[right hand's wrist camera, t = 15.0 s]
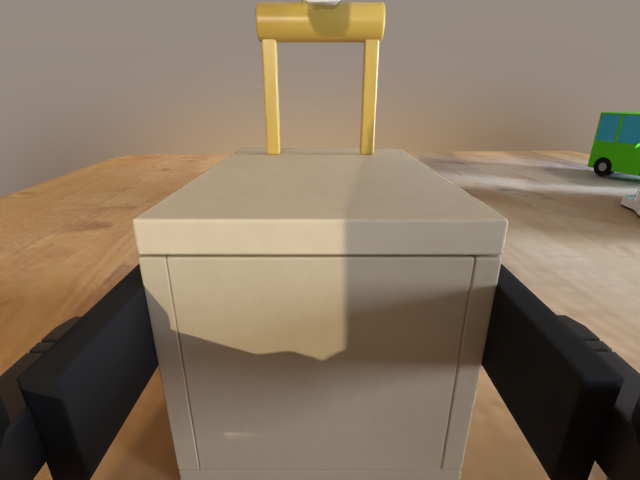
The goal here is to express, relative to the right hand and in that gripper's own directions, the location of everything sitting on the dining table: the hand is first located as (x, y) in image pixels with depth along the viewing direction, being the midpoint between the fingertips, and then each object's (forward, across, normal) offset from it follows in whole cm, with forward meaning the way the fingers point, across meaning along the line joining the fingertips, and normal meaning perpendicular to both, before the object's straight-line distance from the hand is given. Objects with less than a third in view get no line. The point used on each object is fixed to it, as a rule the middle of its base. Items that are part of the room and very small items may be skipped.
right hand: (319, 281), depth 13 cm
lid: (+4, 0, +2) cm, 5 cm away
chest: (+4, 0, -7) cm, 8 cm away
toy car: (+48, +52, -7) cm, 71 cm away
